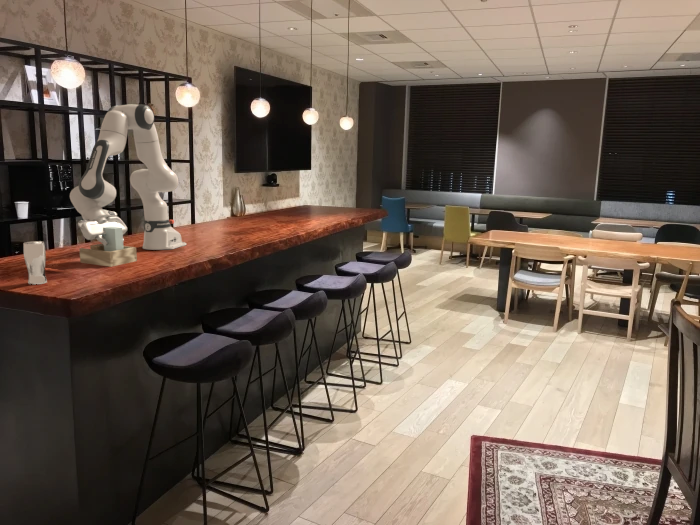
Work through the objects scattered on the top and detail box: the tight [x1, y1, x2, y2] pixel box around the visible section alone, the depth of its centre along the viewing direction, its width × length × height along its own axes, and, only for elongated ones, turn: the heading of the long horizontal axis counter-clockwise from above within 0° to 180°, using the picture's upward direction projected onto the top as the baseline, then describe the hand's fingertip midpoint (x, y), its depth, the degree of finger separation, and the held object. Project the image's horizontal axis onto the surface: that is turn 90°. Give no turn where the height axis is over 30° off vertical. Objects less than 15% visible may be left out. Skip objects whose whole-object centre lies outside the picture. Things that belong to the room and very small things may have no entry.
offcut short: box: [89, 243, 104, 251], centre depth 242 cm, size 7×4×3 cm, turn 155°
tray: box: [79, 245, 138, 268], centre depth 240 cm, size 14×18×7 cm
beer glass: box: [23, 240, 48, 286], centre depth 205 cm, size 7×7×15 cm
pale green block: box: [103, 227, 125, 252], centre depth 238 cm, size 4×7×15 cm, turn 65°
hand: (114, 243), depth 237 cm, fingers open, 7 cm apart
